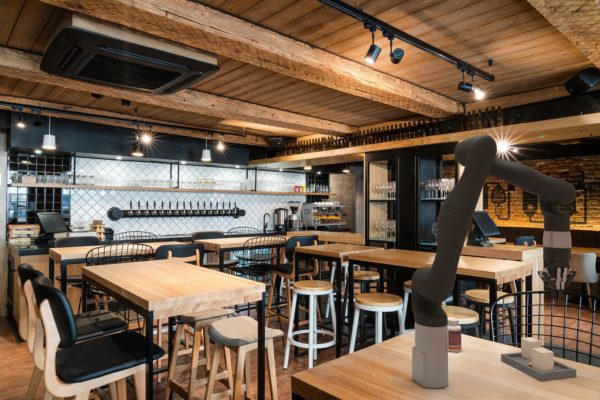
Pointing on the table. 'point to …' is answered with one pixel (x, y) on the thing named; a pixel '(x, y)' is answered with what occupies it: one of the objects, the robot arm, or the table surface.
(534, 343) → the tab left
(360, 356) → the table surface
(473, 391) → the table surface
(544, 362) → the tab right
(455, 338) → the pill bottle
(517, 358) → the switch board
